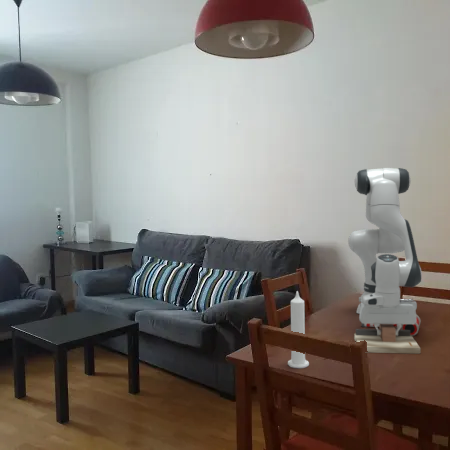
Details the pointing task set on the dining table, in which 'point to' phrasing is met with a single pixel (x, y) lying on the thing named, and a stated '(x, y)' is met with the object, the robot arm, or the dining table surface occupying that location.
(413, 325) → the toy hammer
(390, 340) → the brown cardboard brick
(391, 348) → the board
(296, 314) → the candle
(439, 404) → the dining table surface
